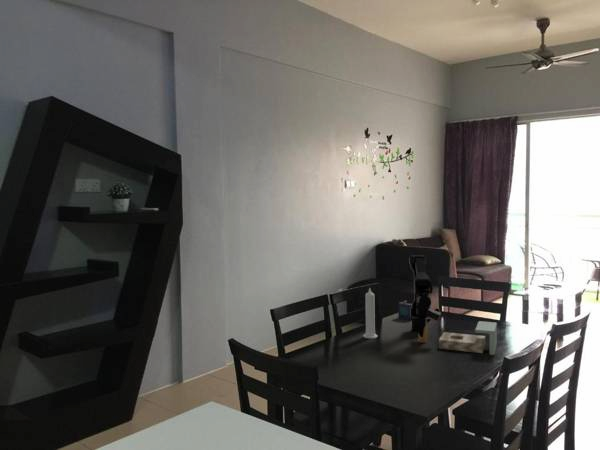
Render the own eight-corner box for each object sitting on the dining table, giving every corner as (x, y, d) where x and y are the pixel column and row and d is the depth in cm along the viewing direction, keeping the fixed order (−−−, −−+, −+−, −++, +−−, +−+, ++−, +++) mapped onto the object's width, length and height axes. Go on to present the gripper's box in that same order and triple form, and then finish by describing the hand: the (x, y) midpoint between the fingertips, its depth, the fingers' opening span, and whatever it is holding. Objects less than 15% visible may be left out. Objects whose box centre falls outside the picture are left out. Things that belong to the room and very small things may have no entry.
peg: (417, 342, 241) (417, 321, 240) (419, 340, 244) (419, 319, 244) (426, 343, 239) (426, 322, 238) (427, 340, 243) (427, 320, 242)
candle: (377, 339, 248) (376, 289, 246) (362, 338, 249) (362, 288, 248) (377, 335, 254) (377, 286, 253) (363, 334, 256) (363, 286, 254)
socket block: (439, 348, 231) (438, 339, 230) (443, 340, 243) (443, 332, 243) (482, 353, 223) (482, 344, 222) (485, 344, 235) (485, 336, 235)
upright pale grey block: (475, 353, 223) (475, 329, 222) (478, 343, 237) (478, 321, 237) (494, 355, 220) (494, 331, 219) (496, 344, 234) (496, 322, 233)
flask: (413, 319, 284) (413, 301, 283) (410, 320, 282) (410, 302, 281) (400, 317, 291) (399, 299, 290) (397, 318, 289) (396, 299, 288)
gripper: (436, 309, 229) (436, 342, 230) (442, 300, 246) (443, 332, 247) (411, 307, 233) (412, 340, 234) (420, 299, 250) (420, 330, 251)
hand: (422, 335), depth 241 cm, fingers open, 5 cm apart
